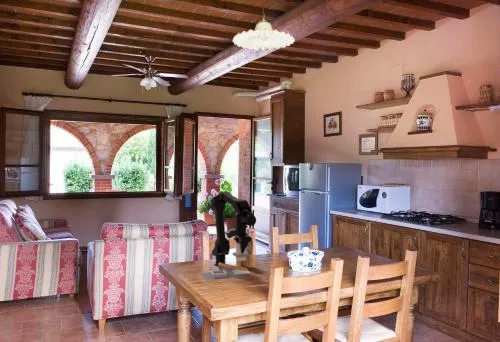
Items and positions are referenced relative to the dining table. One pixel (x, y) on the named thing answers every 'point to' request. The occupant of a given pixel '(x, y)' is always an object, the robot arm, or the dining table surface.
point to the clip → (233, 266)
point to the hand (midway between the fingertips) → (241, 252)
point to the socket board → (225, 274)
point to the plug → (238, 253)
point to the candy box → (249, 260)
